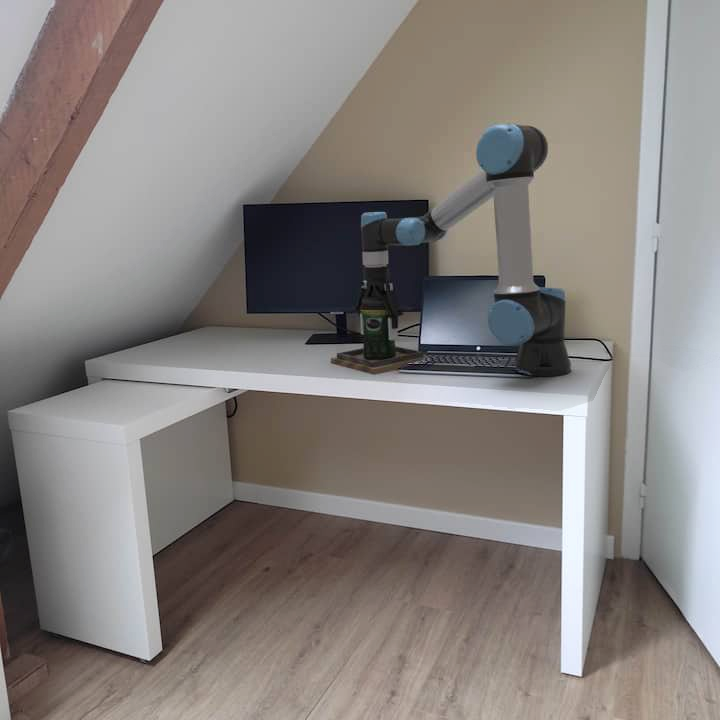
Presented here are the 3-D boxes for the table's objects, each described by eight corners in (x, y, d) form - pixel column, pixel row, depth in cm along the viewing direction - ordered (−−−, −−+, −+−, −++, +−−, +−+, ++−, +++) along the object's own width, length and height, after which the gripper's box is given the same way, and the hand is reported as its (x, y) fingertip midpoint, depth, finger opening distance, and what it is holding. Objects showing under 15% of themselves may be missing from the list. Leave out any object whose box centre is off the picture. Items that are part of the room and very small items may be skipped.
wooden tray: (430, 361, 218) (430, 352, 218) (374, 374, 206) (374, 364, 206) (384, 351, 236) (384, 342, 235) (330, 362, 224) (330, 353, 223)
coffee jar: (399, 355, 222) (397, 294, 218) (389, 361, 215) (387, 298, 211) (370, 354, 226) (367, 294, 222) (359, 359, 219) (356, 298, 215)
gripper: (413, 266, 207) (415, 339, 211) (360, 262, 227) (364, 330, 231) (392, 268, 203) (395, 343, 207) (341, 265, 222) (344, 333, 227)
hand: (379, 336), depth 219 cm, fingers open, 13 cm apart
